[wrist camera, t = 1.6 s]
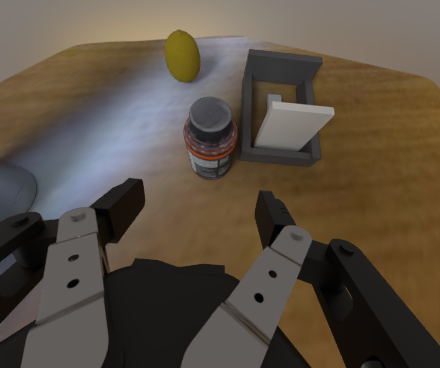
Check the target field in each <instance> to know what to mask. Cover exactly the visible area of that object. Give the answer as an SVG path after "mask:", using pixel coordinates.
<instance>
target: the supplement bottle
mask: <svg viewBox="0 0 440 368" xmlns="http://www.w3.org/2000/svg"><path fill="white" fill-rule="evenodd" d="M184 138H185V142H186V146H187V150H188V154H189V157H190V161H191V165H192V167H193V169H194V171H195V173H196V174H197V175H198V176H199V177H201V178H203V179H206V180H216V179H219V178H221V177H223V176H224V175H225V174H226V173H227V172H228V170H229V168H230V164H231V161H232V157H233V153H234V149H235V145H236V141H237V126H236V123H235V121H234V120H233V118H232V113H231V109H230V107H229V105H228V104H227V103H226V102H225V101H223V100H221V99H219V98H216V97H204V98H200V99H199V100H197V101H196V102H194V104H193V105H192V106H191V108H190V112H189V118H188V119H187V121H186V123H185V126H184Z"/></svg>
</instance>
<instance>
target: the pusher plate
mask: <svg viewBox="0 0 440 368" xmlns="http://www.w3.org/2000/svg"><path fill="white" fill-rule="evenodd" d="M334 115H335V113H334V108H333V107H323V106H313V105H304V104H294V103H285V102H282V100H281V95H275V94H268V95H267V114H266V117H265V119H264V121H263V123H262V126H261V128H260V130H259V132H258V134H257V137H256V139H255V141H254V143H253V148H263V149H273V150H283V151H294V152H298V151H299V150H300V149H301V148H302V147H303V146H304V145H305V144H306V143H307V142H308V141H309V140H310V139H311V138H312V137H313V136H314V135H315V134H316V133H317V132H318V131H319V130H320V129H321V128H322V127H323V126H324V125H325V124H326V123H327V122H328V121H329V120H330V119H331V118H332V117H333V116H334Z"/></svg>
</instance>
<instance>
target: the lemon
mask: <svg viewBox="0 0 440 368" xmlns="http://www.w3.org/2000/svg"><path fill="white" fill-rule="evenodd" d="M165 60H166V64H167V67H168V69H169V71H170V73H171V75H172V76H173V77H174V78H175V79H177V80H178V81H180V82H184V83H187V82H191V81H192V80H194V79H195V78H196V77H197V75H198V73H199V70H200V53H199V50H198V47H197V44H196V42H195V40H194V39H193V37H192V36H190V35H189V34H188V33H187V32H184V31H181V30H177V31H175V32H173V33H171V34H170V35H169V37H168V38H167V40H166V43H165Z"/></svg>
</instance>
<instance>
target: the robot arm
mask: <svg viewBox="0 0 440 368" xmlns="http://www.w3.org/2000/svg"><path fill="white" fill-rule="evenodd" d="M35 195H36V182H35V180H34V178H33V176H32V175H31V174H30V173H29V172H28V171H27V170H25V169H23V168H20V167H18V166H15V165H12V164H10V163H7V162H5V161H2V160H0V262H1V261H2V260H3V259H4V258H6V257H7V256H8V255H10V254H11V253H12V254H13V256H14V257H15V259H16V260H17V262H16V263H15V264H13V265H12V266H11V267H10V268H9V269H7V270H6V271H5V272H4V273H3V274H1V275H0V323H1V322H2V321H3V320H4V319H5V318H6V317H7V316H8V315H9V314H10V313H11V312H12V310H13V309H14V308H15V307H16V306H17V305H18V304H19V303H20V302H21V301H22V300H23V299H24V298H25V297H26V296H27V294H28V293H29V292H30V291H31V290H32V289H33V288H34V287H35V286H36V285H37V284H38V283H39V282H40V281H41V279H42V278H43V283H42V288H41V294H40V300H39V306H38V312H37V318H36V320H34V321H33V322H31V323H30V324H28V325H26V326H25V327H23V328H22V329H20V330H19V331H17V332H16V333H14V334H12V335H11V336H9V337H8V338H6V339H5V340H3V341H2V342H0V368H311V367H310V365H309V364H308V363H307V362H306V360H305V359H304V358H303V357H302V355H301V354H300V353H299V352H298V350H297V349H296V348H295V347H294V345H293V344H292V343H291V342H290V340H289V339H288V338H287V337H286V335H285V334H284V333H283V332H282V330H281V329H280V328H279V327H278V322H279V320H280V317H281V315H282V313H283V310H284V308H285V305H286V303H287V301H288V298H289V296H290V293H291V291H292V289H293V286H294V284H295V281H296V279H299V280H302V281H305V282H307V283H310V284H312V286H313V288H314V291H315V293H316V295H317V298H318V300H319V303H320V305H321V308H322V310H323V312H324V315H325V317H326V320H327V322H328V325H329V327H330V329H331V332H332V334H333V337H334V339H335V341H336V344H337V346H338V349H339V351H340V354H341V356H342V358H343V361H344V363H345V366H346V368H440V346H439V344H438V343H437V342H436V341H435V340H434V338H433V337H432V336H431V335H430V333H429V332H428V331H427V330H426V329H425V327H424V326H423V325H422V324H421V323H420V321H419V320H418V319H417V318H416V317H415V315H414V314H413V313H412V312H411V311H410V309H409V308H408V307H407V306H406V304H405V303H404V302H403V301H402V300H401V298H400V297H399V296H398V295H397V294H396V292H395V291H394V290H393V289H392V288H391V286H390V285H389V284H388V283H387V282H386V280H385V279H384V278H383V277H382V275H381V274H380V273H379V272H378V271H377V269H376V268H375V267H374V266H373V265H372V263H371V262H370V261H369V260H368V259H367V257H366V256H365V255H364V254H363V253H362V251H361V250H360V249H359V248H357V247H356V246H355V245H353V244H352V243H350V242H348V241H345V240H342V239H332V240H331V241H330V243H329V245H327V244H324V243H320V242H317V241H314V240H312V237H311V236H310V234H309V233H308V232H307V231H306V230H304V229H302V228H300V227H298V226H296V224H295V222H294V220H293V219H292V217H291V215H290V214H289V212H288V210H287V208H286V206H285V204H284V203H283V202H281V201H280V200H279V199H275V197H274V195H273V193H272V192H271V191H262V190H260V191H259V195H258V199H257V203H256V208H255V220H256V224H257V228H258V231H259V235H260V239H261V243H262V247H263V252H262V253H261V255H260V256H259V257H258V259H257V260H256V261H255V263H254V264H253V265H252V267H251V268H250V269H249V271H248V272H247V273H246V275H245V276H244V277H243V279H242V280H241V281H239V280H238V279H236V278H235V277H233V276H231V275H229V274H226V273H225V266H224V265H211V264H198V265H191V266H185V267H176V266H173V265H170V264H167V263H165V262H162V261H159V260H150V259H138V258H135V260H134V262H133V264H132V265H131V266H128V267H124V268H120V269H118V270H115V271H113V272H110V268H109V263H108V257H107V251H106V247H105V246H106V245H107V243H116V244H117V243H118V242H119V240H120V239H121V237H122V236H123V235H124V233H125V232H126V231H127V229H128V228H129V227H130V225H131V224H132V222H133V221H134V220H135V218H136V217H137V216H138V214H139V213H140V212H141V210H142V209H143V207H144V205H145V194H144V186H143V181H142V179H135V178H129V179H127V180H126V181H125V182H124V183H123V184H120V185H118V186H116V187H113V188H112V189H111V190H109V191H108V192H107V193H106V194H104V195H103V197H101V198H99V199H98V200H97V201H96V202H95V203H93V204H92V205H91V206H90V207H83V208H77V209H73V210H71V211H68V212H66V213H65V214H63V215H62V216H61V217H60V219H54V220H45V221H43V219H42V217H41V215H40V214H39V213H37V212H27V211H28V209H29V208H30V206H31V205H32V203H33V201H34V198H35ZM345 287H346V288H347V289H348V291H349V293H350V294H351V297H352V299H353V300H352V299H351V297H350V295H349V293H348V292H347V290H346V288H345Z"/></svg>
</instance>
